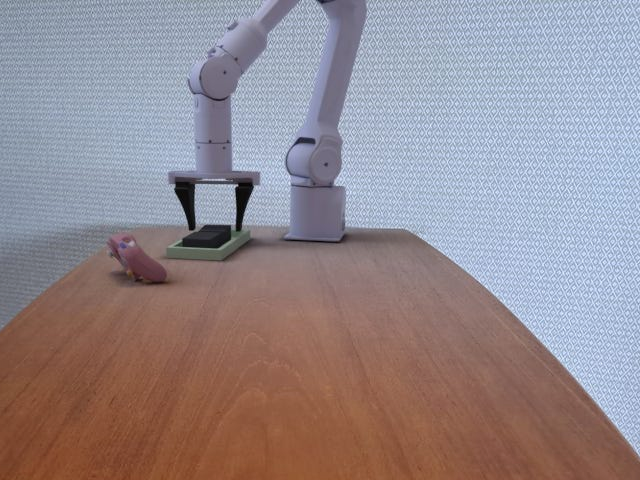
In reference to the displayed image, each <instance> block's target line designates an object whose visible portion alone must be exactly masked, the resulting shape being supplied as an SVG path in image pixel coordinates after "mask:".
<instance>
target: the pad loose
mask: <svg viewBox="0 0 640 480" xmlns="http://www.w3.org/2000/svg"><path fill="white" fill-rule="evenodd" d="M199 229H200V230H199ZM199 229H198V230H199V231H198V232H217V233H221V244H222V246H223V245H224V244H226V243H227V242H229V241H230V240H231V229H232V225H231V224H204V225H202V227H201V228H199Z"/></svg>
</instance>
